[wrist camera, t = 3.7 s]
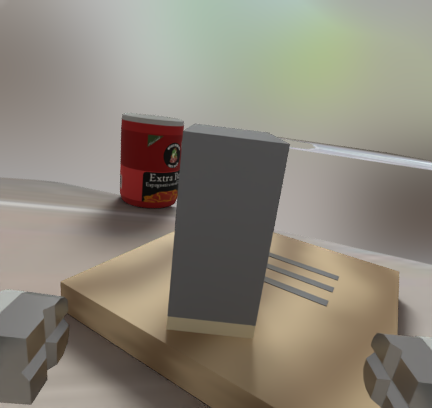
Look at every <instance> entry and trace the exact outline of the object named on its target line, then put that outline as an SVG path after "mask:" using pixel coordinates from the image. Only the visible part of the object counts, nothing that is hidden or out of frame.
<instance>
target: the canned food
mask: <svg viewBox="0 0 432 408" xmlns="http://www.w3.org/2000/svg"><path fill="white" fill-rule="evenodd" d="M183 123H184V121H183V120H180V119H175V118H170V117H163V116H155V115H146V114H133V113H124V114H122V127H121V170H120V194H121V197H122V200H123V201H124V202H126V203H128V204H130V205H133V206H137V207H143V208H164V207H168V206H171V205H173V204H174V203H175V201H176V199H177V196H178V185H179V174H180V162H181V150H182V138H183V129H184V124H183Z"/></svg>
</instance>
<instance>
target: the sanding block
mask: <svg viewBox="0 0 432 408" xmlns="http://www.w3.org/2000/svg"><path fill="white" fill-rule="evenodd" d="M289 146H290V144H289V143H287V142H285V141H283V140H281V139H279V138H278V137H276V136H274V135H272V134H270V133H267V132H259V131H250V130H242V129H234V128H226V127H218V126H210V125H201V124H193V125H192V126H190V127H189V128H187V129H186V130H184V131H183V138H182V150H181V162H180V174H179V185H178V197H177V209H176V221H175V233H174V244H173V256H172V268H171V280H170V291H169V303H168V315H167V327H166V329H167V330H177V331H186V332H195V333H204V334H214V335H223V336H232V337H241V338H251V339H253V337H254V332H255V326H256V321H257V316H258V310H259V305H260V300H261V295H262V289H263V284H264V279H265V273H266V268H267V263H268V258H269V252H270V247H271V242H272V236H273V231H274V226H275V220H276V215H277V209H278V204H279V199H280V194H281V188H282V184H283V178H284V173H285V168H286V162H287V157H288V152H289Z"/></svg>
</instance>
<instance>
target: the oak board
mask: <svg viewBox="0 0 432 408" xmlns="http://www.w3.org/2000/svg"><path fill="white" fill-rule="evenodd" d="M174 233H175V231H174V232H172V233H169V234H167V235H165V236H163V237H160V238H158V239H156V240H154V241H151V242H149V243H147V244H145V245H142V246H140V247H138V248H136V249H133V250H131V251H129V252H126V253H124V254H122V255H120V256H117V257H115V258H113V259H111V260H108V261H106V262H104V263H102V264H99V265H97V266H95V267H93V268H90V269H88V270H86V271H84V272H81V273H79V274H77V275H75V276H72V277H70V278H68V279H65V280H63V281H61V296H63V297H65V298H66V299H67V300H68V312H67V314H69V315H71V316H72V317H74V318H75V319H77V320H78V321H80V322H81V323H83V324H84V325H86V326H87V327H89V328H90V329H92V330H93V331H95V332H97V333H98V334H100V335H101V336H103V337H104V338H106V339H107V340H109V341H110V342H112V343H113V344H115V345H116V346H118V347H119V348H121V349H123V350H124V351H126V352H127V353H129V354H130V355H132V356H133V357H135V358H136V359H138V360H139V361H141V362H142V363H144V364H146V365H147V366H149V367H150V368H152V369H153V370H155V371H156V372H158V373H159V374H161V375H162V376H164V377H165V378H167V379H168V380H170V381H172V382H173V383H175V384H176V385H178V386H179V387H181V388H182V389H184V390H185V391H187V392H188V393H190V394H191V395H193V396H194V397H196V398H198V399H199V400H201V401H202V402H204V403H205V404H207V405H208V406H210V407H211V408H381V407H380V406H379V405H377V404H376V403H375V402H374V401H373V400H372V399H371V398H370V396H369V394H368V392H367V390H366V388H365V384H364V380H363V367H364V364H365V360H366V358H367V357H369V356H370V355H371V354H372V353H374V351H373V349H372V347H371V342H372V339H373V337H374V336H375V335H376V334H377V333H385V334H394V335H397V329H398V295H399V272H398V271H395V270H392V269H389V268H386V267H382V266H379V265H376V264H373V263H370V262H366V261H363V260H360V259H357V258H354V257H350V256H347V255H344V254H341V253H338V252H334V251H331V250H328V249H325V248H322V247H318V246H315V245H312V244H309V243H306V242H302V241H299V240H296V239H293V238H290V237H286V236H283V235H280V234H277V233H274V232H273V236H272V242H271V247H270V252H269V258H268V263H267V268H266V273H265V279H264V284H263V289H262V295H261V300H260V305H259V310H258V316H257V321H256V326H255V332H254V337H253V339H251V338H241V337H232V336H223V335H214V334H204V333H195V332H186V331H177V330H167V329H166V327H167V315H168V303H169V291H170V280H171V268H172V256H173V244H174Z"/></svg>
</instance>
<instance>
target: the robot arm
mask: <svg viewBox="0 0 432 408" xmlns="http://www.w3.org/2000/svg"><path fill="white" fill-rule="evenodd" d="M67 312H68V300H67V299H66V298H65V297H63V296H55V295H48V294H41V293H33V292H24V291H17V290H9V289H7V290H3V291H1V292H0V402H1V403H14V404H28V405H31V404H32V403H33V401H34V400H35V398H36V397H37V395H38V393H39V392H40V390H41V389H42V387H43V386H44V384H45V383H46V381H47V370H49V369H50V368H52V367H54V366H55V365H57V364H58V362H59V360H60V359H61V357H62V356H63V353H64V351H65V348H66V345H67V342H68V336H69V325H68V324H67V322H66V321H65V320H64V316H65V315H66V314H67ZM371 347H372V349H373V351H374V353H372V354H371V355H370V356H369V357H367V358H366V360H365V364H364V367H363V380H364V384H365V388H366V390H367V392H368V394H369V396H370V398H371V399H372V400H373V401H374V402H375V403H376V404H377V405H379V406H380V407H381V408H432V338H431V337H419V336H415V337H412V336H403V335H394V334H385V333H377V334H376V335H375V336H374V337H373V339H372V342H371Z"/></svg>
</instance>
